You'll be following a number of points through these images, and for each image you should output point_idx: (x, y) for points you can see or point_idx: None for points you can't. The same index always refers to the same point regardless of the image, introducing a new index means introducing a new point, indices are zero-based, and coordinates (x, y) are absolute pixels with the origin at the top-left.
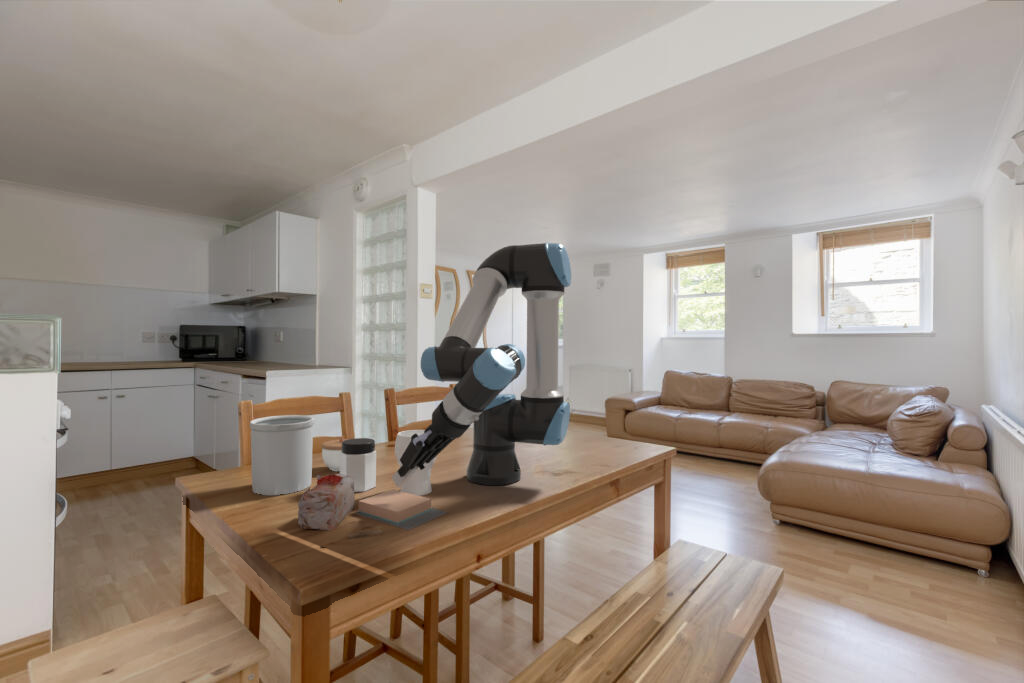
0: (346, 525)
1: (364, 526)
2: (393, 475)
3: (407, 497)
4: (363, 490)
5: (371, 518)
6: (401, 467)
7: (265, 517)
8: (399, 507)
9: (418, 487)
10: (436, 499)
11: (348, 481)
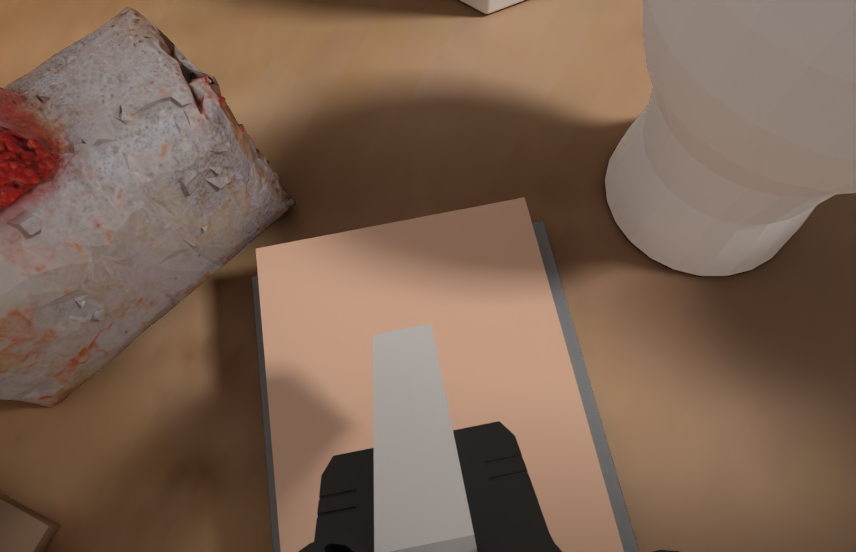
0: (155, 369)
1: (202, 449)
2: (373, 354)
3: (507, 398)
4: (482, 8)
5: (262, 409)
6: (317, 536)
7: (16, 53)
8: None
9: (695, 236)
10: (753, 359)
11: (138, 169)
